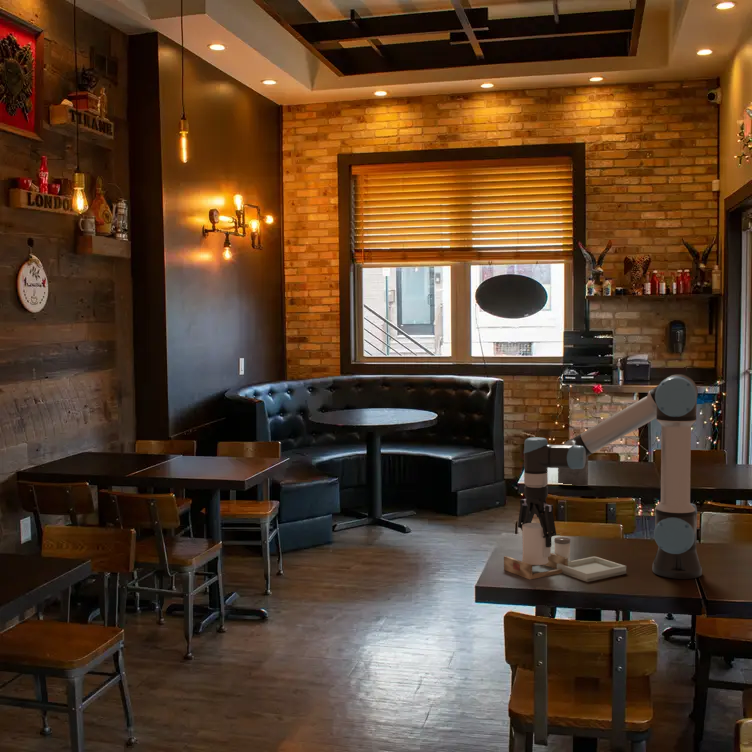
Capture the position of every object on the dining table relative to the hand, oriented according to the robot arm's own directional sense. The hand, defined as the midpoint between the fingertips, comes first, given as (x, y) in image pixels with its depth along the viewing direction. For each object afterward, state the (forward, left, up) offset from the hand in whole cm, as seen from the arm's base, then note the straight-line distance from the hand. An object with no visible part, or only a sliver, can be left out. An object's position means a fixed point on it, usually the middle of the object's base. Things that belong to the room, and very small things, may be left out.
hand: (536, 553), depth 294 cm
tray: (-11, -14, -6) cm, 18 cm away
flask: (+103, -112, -6) cm, 152 cm away
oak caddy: (0, 0, -6) cm, 6 cm away
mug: (+1, 0, -3) cm, 3 cm away
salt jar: (0, -11, -6) cm, 13 cm away
